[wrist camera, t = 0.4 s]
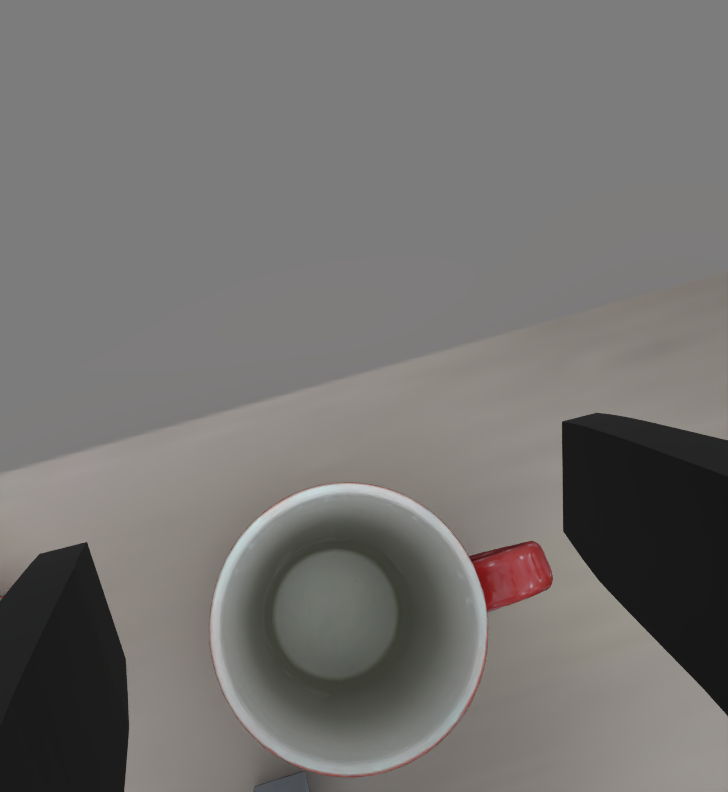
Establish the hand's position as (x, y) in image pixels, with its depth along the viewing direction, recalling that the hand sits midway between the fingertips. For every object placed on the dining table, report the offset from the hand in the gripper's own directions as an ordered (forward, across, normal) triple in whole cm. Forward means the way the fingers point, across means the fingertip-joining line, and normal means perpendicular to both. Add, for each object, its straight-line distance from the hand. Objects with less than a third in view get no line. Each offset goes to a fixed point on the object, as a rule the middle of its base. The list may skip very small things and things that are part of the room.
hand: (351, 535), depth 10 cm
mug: (+20, -4, +18) cm, 27 cm away
